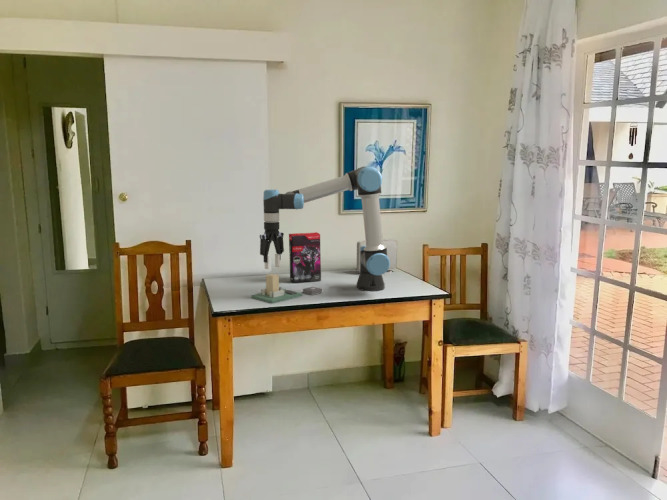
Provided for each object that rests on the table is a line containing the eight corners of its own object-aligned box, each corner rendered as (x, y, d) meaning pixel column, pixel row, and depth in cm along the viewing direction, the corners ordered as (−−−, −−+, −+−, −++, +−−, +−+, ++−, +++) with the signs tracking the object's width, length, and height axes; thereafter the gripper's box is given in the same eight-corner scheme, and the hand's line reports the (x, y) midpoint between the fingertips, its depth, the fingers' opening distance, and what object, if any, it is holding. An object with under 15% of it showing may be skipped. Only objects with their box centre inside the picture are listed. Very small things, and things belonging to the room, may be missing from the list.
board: (302, 295, 269) (302, 288, 269) (272, 303, 255) (272, 295, 254) (281, 290, 280) (281, 283, 279) (251, 297, 265) (251, 290, 265)
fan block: (322, 292, 276) (322, 288, 275) (312, 295, 271) (312, 290, 270) (312, 290, 281) (312, 285, 280) (302, 292, 275) (302, 288, 275)
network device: (360, 275, 316) (361, 242, 313) (354, 273, 324) (354, 240, 321) (398, 272, 326) (399, 240, 323) (391, 269, 334) (392, 238, 331)
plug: (279, 294, 266) (278, 275, 265) (272, 296, 263) (272, 276, 262) (271, 292, 270) (271, 273, 268) (265, 294, 267) (265, 274, 265)
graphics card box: (292, 283, 296) (291, 234, 291) (288, 281, 302) (288, 233, 298) (321, 281, 302) (321, 233, 297) (317, 278, 308) (317, 232, 304)
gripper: (281, 219, 270) (281, 264, 273) (251, 222, 256) (252, 269, 260) (291, 220, 265) (291, 266, 268) (261, 223, 251) (262, 271, 255)
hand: (272, 267), depth 264 cm, fingers open, 6 cm apart
